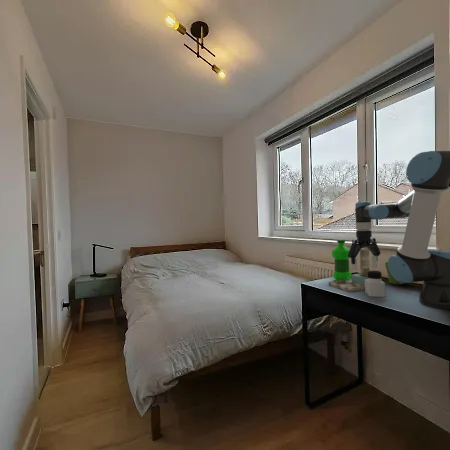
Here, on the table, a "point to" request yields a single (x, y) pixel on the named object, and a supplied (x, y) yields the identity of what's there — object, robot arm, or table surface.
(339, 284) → the tray
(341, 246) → the plastic bottle
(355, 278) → the teal square bowl
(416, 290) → the table surface
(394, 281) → the plant pot
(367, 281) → the medicine bottle
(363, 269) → the dowel
